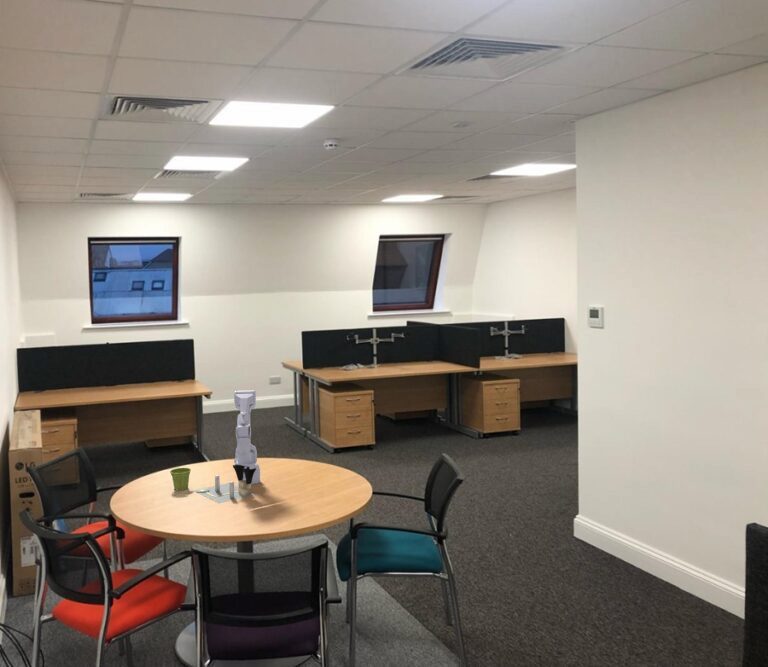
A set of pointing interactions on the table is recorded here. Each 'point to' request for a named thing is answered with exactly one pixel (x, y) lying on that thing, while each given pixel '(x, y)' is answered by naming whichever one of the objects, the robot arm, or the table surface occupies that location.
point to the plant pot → (180, 478)
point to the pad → (202, 490)
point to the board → (223, 492)
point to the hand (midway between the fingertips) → (244, 481)
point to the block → (244, 488)
